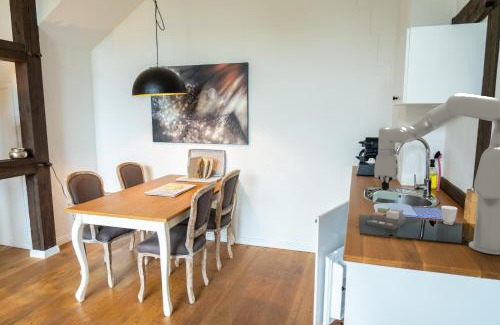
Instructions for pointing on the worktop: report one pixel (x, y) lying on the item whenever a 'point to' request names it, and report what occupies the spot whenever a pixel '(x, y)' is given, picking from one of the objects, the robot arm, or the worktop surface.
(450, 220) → the cup
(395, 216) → the ivory key
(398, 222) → the keypad board
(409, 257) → the worktop surface
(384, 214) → the terracotta key
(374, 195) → the l-shaped corner panel
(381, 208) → the sage key
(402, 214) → the slate key
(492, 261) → the worktop surface
